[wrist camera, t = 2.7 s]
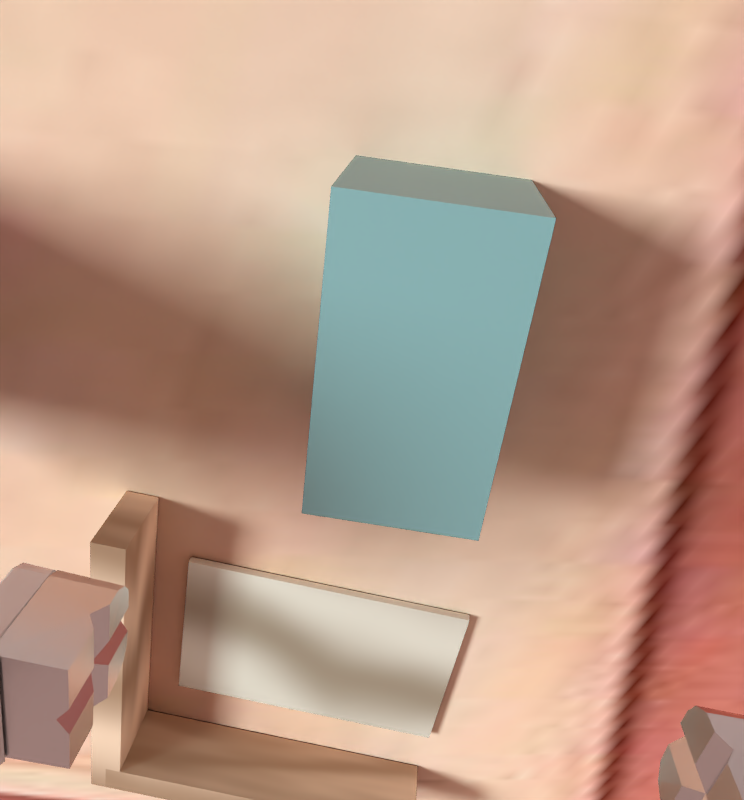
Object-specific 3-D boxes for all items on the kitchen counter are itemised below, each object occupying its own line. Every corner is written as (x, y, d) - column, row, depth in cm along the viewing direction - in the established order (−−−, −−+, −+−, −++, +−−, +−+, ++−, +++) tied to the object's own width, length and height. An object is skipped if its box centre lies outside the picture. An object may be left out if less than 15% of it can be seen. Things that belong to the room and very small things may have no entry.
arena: (126, 490, 26) (90, 542, 23) (486, 566, 26) (490, 625, 23) (120, 721, 32) (91, 783, 29) (411, 782, 32) (408, 849, 29)
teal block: (356, 154, 20) (331, 186, 15) (531, 179, 20) (556, 218, 15) (327, 426, 24) (301, 513, 20) (472, 448, 24) (478, 540, 19)
